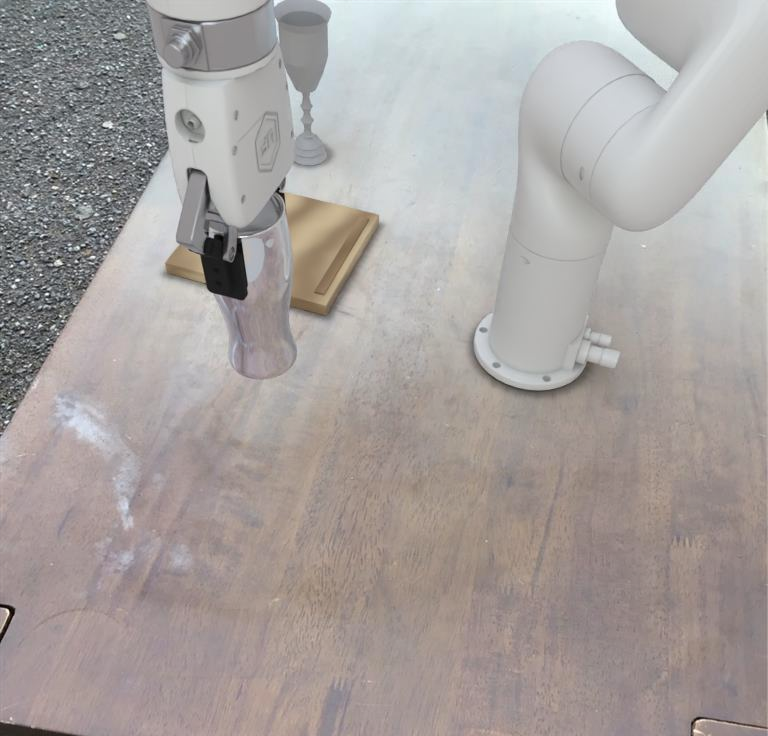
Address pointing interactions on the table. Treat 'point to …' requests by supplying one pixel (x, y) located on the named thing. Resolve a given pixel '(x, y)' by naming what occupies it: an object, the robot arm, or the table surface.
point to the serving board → (308, 250)
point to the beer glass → (261, 295)
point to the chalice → (304, 63)
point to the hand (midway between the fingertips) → (249, 261)
